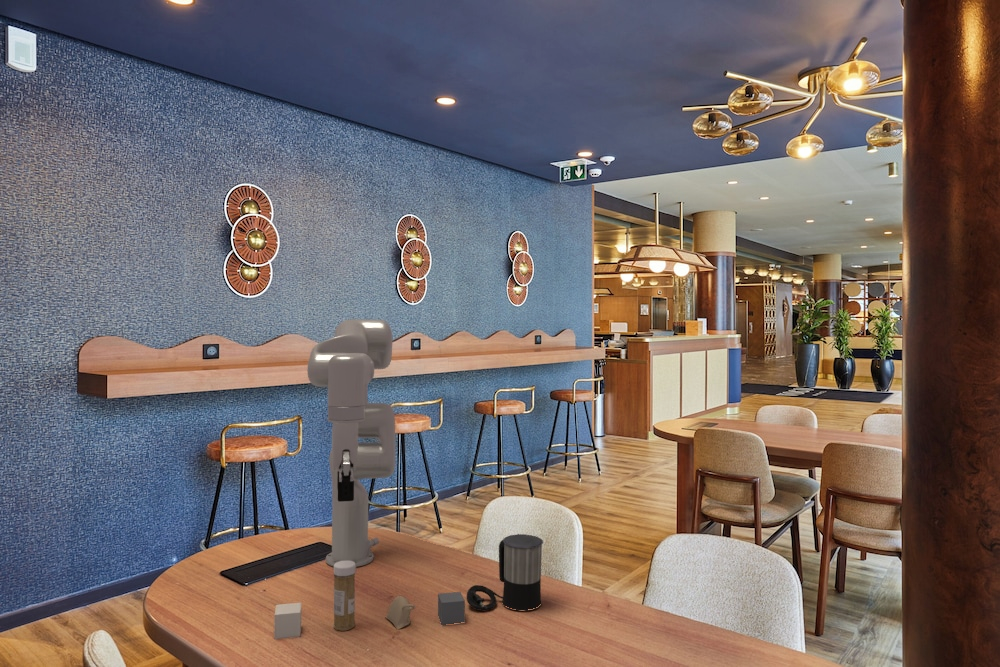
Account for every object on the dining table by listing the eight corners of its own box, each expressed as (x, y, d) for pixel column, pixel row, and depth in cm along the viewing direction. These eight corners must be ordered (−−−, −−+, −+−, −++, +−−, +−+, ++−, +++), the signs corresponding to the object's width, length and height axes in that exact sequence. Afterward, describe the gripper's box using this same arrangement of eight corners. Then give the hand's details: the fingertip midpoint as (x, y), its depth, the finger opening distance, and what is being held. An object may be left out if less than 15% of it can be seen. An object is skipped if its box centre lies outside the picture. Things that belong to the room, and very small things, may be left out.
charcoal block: (437, 616, 147) (438, 593, 147) (460, 614, 148) (460, 591, 148) (441, 626, 142) (441, 602, 142) (464, 624, 143) (464, 600, 143)
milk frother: (550, 604, 154) (551, 540, 154) (503, 626, 142) (504, 556, 142) (505, 587, 164) (506, 526, 164) (458, 606, 152) (459, 541, 152)
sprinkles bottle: (358, 628, 140) (359, 564, 140) (337, 633, 138) (338, 568, 138) (350, 620, 144) (351, 558, 144) (329, 625, 142) (330, 562, 142)
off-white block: (276, 628, 140) (276, 604, 140) (301, 626, 141) (301, 602, 141) (274, 639, 135) (274, 614, 135) (300, 636, 136) (300, 612, 136)
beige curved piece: (402, 613, 148) (402, 589, 148) (417, 628, 141) (418, 603, 141) (385, 617, 146) (385, 593, 146) (399, 633, 139) (400, 607, 139)
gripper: (328, 409, 148) (327, 486, 148) (327, 419, 131) (326, 506, 131) (362, 408, 150) (361, 484, 150) (366, 419, 133) (365, 504, 133)
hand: (345, 495), depth 141 cm, fingers open, 9 cm apart
